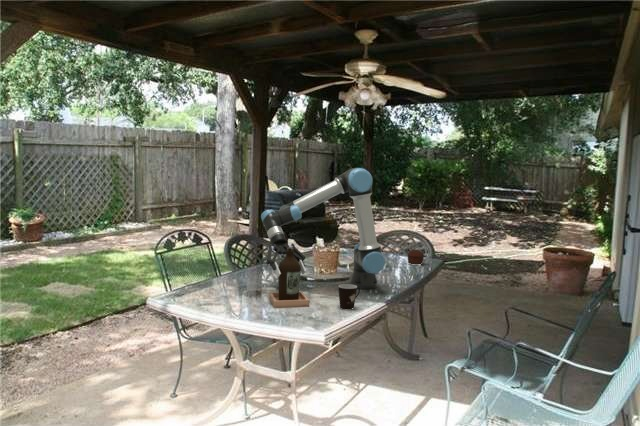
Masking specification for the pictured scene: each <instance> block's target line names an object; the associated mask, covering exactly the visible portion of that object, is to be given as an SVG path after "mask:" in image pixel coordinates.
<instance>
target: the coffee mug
mask: <svg viewBox="0 0 640 426" xmlns="http://www.w3.org/2000/svg"><path fill="white" fill-rule="evenodd" d="M337 286H338V287H337V288H338V298H339V307H340V309H341V308H342V309H341V310H345V309H351V310H353V309H352V308H355V302H356V299H357V298H358V296H359V295H360V293H361V289H360V288H359V287H357V286H356V285H351V284H350V283H343V284H342V283H341V284H339V285H337ZM357 291H358V292H357Z"/></svg>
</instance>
